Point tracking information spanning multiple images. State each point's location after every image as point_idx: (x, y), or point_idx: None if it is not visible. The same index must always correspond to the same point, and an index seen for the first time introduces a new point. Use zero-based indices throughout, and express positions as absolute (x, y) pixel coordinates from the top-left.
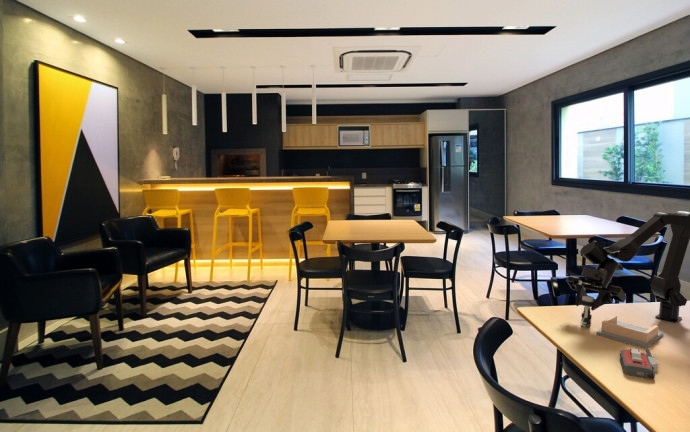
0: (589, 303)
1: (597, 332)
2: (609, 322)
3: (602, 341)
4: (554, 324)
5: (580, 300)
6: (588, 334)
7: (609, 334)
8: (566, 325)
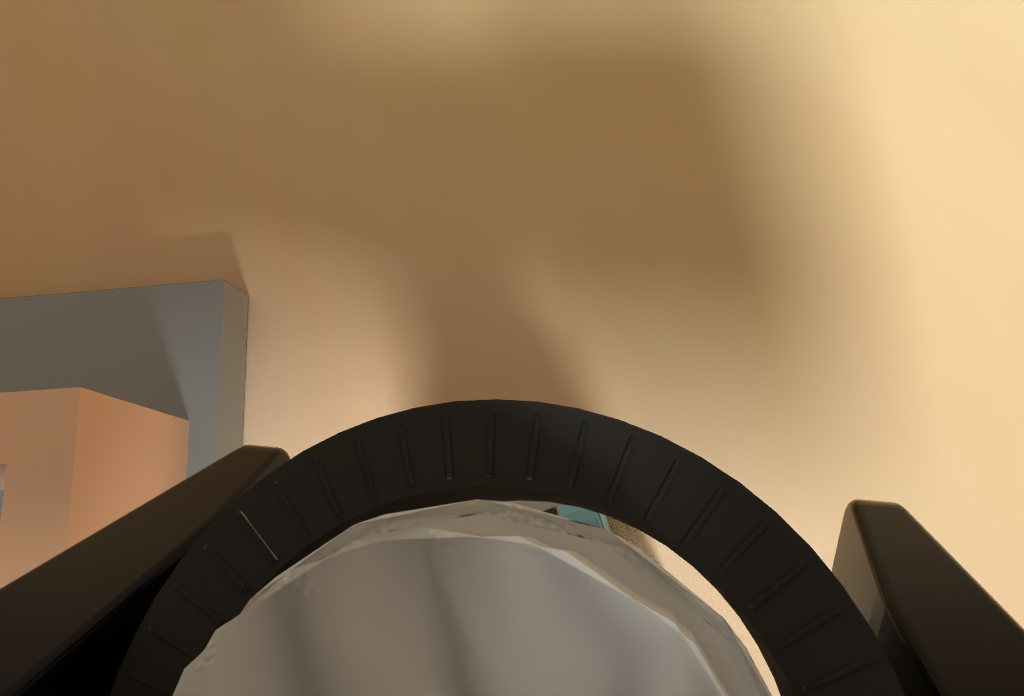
0: (302, 507)
1: (213, 286)
2: None
3: (92, 108)
4: (974, 146)
5: (708, 464)
6: (337, 198)
7: (30, 330)
8: (804, 287)
